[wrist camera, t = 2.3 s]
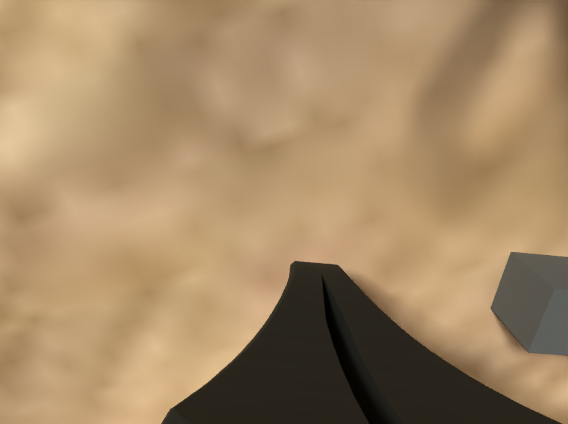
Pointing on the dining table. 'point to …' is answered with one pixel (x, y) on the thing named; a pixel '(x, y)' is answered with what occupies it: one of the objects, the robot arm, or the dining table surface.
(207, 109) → the dining table surface
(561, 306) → the plug
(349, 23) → the dining table surface
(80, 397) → the dining table surface
